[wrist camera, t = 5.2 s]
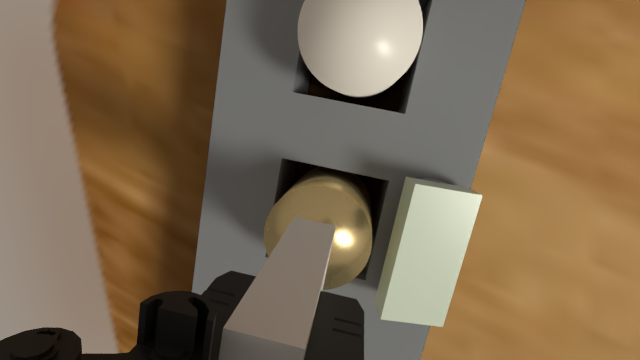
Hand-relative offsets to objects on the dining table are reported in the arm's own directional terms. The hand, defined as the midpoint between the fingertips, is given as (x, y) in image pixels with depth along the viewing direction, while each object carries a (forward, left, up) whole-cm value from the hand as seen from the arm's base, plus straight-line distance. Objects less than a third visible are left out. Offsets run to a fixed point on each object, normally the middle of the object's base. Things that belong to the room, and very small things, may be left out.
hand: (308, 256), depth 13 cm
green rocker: (0, +4, -4) cm, 6 cm away
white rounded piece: (-8, 0, -7) cm, 10 cm away
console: (0, 0, -8) cm, 8 cm away
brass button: (0, 0, -7) cm, 7 cm away
